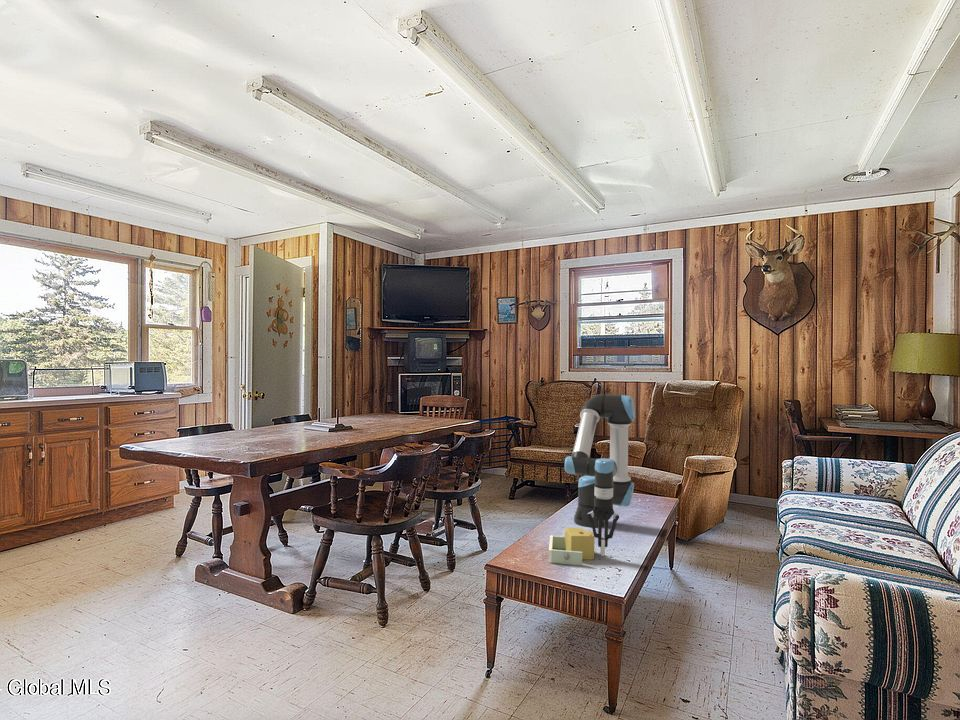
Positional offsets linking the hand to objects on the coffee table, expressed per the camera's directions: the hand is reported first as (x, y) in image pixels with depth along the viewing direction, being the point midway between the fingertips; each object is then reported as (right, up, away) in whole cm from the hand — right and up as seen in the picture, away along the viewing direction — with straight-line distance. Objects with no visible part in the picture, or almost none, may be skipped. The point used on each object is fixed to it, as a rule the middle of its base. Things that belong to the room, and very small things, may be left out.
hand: (602, 554), depth 210 cm
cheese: (-9, -2, +2) cm, 10 cm away
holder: (-14, -1, +2) cm, 15 cm away
